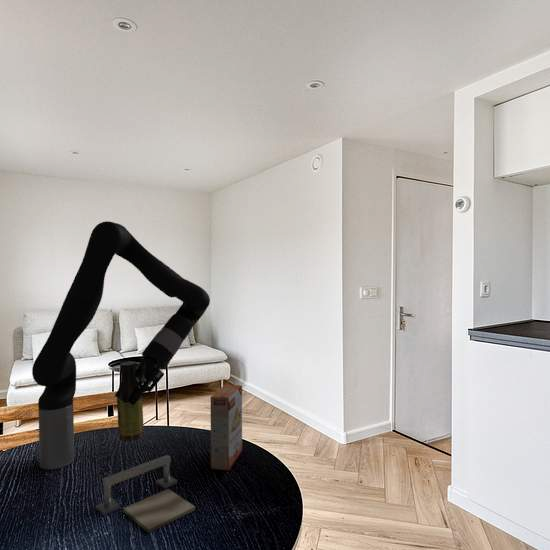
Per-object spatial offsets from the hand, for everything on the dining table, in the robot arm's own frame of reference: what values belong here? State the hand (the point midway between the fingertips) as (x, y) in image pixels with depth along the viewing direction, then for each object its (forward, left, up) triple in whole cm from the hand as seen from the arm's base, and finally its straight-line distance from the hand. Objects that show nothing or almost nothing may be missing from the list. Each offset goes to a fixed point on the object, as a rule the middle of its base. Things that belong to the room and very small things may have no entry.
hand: (123, 400), depth 108 cm
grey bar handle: (+5, +1, -23) cm, 24 cm away
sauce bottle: (0, +2, -10) cm, 11 cm away
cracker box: (+6, +29, -24) cm, 38 cm away
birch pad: (+15, +1, -23) cm, 28 cm away
